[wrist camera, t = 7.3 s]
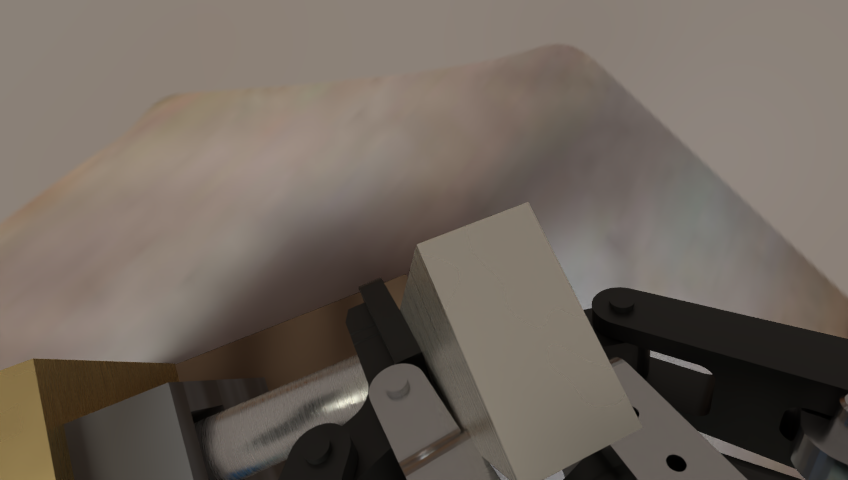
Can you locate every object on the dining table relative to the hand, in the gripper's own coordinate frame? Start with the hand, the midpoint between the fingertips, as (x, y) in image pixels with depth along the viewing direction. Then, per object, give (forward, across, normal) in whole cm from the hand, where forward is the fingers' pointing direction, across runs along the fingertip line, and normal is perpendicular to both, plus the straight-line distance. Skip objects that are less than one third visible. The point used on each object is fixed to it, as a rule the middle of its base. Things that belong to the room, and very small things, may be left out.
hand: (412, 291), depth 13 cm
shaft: (+4, +8, +7) cm, 11 cm away
